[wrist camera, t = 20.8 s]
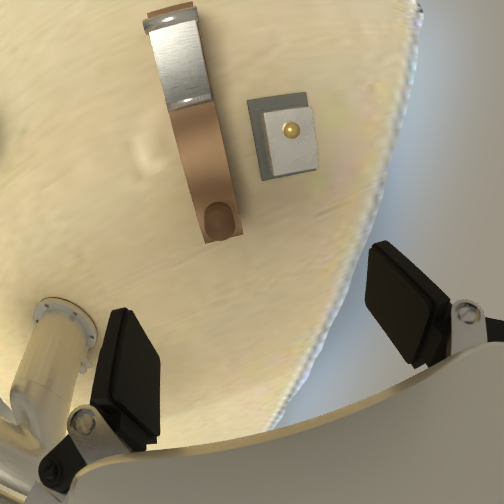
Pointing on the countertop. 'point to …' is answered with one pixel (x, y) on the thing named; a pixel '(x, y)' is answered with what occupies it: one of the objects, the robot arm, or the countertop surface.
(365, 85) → the countertop surface
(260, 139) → the mat
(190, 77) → the lever
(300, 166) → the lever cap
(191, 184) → the plane body
